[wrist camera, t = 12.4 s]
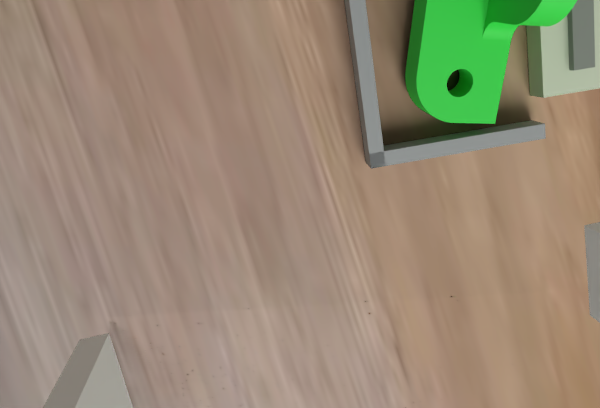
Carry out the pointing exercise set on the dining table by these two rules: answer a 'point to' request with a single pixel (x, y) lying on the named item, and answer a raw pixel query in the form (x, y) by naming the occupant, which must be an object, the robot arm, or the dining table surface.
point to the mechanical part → (468, 52)
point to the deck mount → (543, 83)
